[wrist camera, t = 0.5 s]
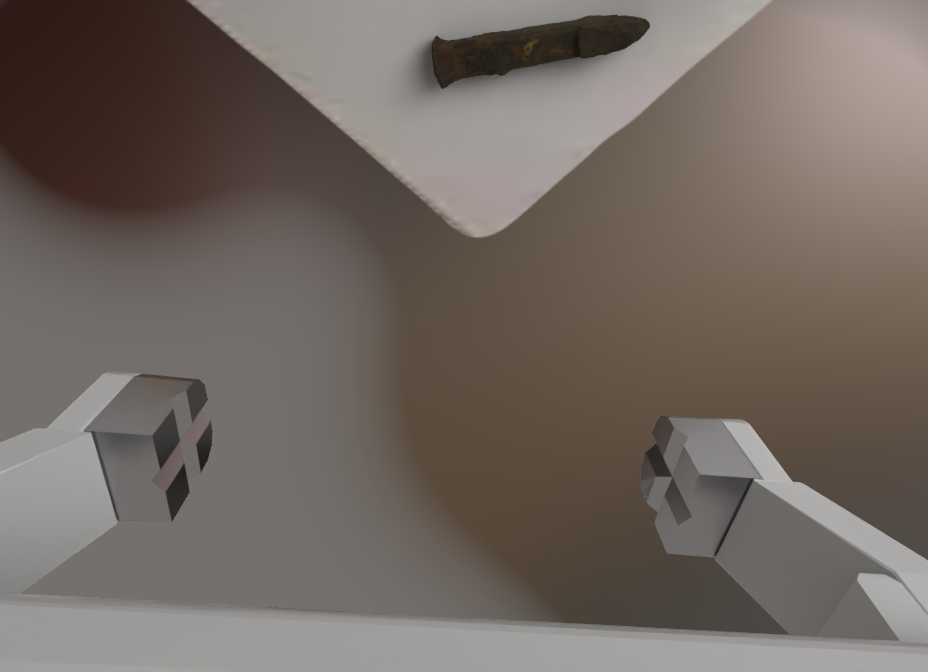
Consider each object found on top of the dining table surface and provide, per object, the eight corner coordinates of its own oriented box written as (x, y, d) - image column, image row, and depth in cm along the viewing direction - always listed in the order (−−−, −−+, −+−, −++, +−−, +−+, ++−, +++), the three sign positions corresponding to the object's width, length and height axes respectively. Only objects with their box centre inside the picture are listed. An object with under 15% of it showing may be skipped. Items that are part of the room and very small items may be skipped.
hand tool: (440, 79, 53) (434, 95, 50) (433, 33, 51) (426, 47, 47) (643, 53, 50) (651, 68, 47) (646, 3, 47) (655, 16, 44)
